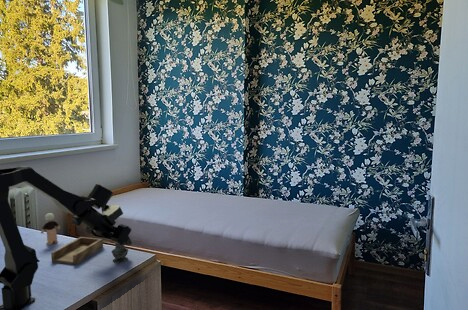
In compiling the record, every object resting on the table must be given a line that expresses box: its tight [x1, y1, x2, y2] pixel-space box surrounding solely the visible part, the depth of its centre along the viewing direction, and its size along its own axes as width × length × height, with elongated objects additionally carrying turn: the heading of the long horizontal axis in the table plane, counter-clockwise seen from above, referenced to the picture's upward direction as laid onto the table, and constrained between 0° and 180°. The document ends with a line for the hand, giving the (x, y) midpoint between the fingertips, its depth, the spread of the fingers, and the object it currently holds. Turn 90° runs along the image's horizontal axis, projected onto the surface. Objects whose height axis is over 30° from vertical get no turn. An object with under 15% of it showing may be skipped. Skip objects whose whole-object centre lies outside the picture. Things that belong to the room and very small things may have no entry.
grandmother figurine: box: [40, 212, 61, 246], centre depth 142 cm, size 8×4×13 cm, turn 157°
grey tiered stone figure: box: [111, 242, 129, 264], centre depth 127 cm, size 6×6×12 cm
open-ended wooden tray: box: [50, 236, 104, 266], centre depth 132 cm, size 16×10×4 cm, turn 166°
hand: (122, 241), depth 128 cm, fingers open, 9 cm apart
